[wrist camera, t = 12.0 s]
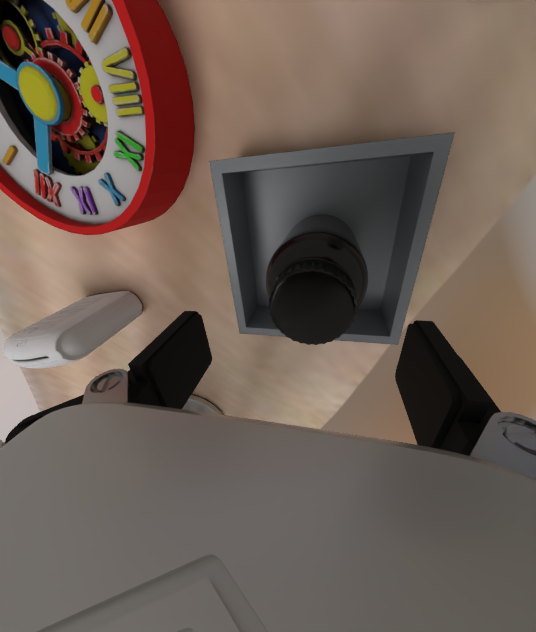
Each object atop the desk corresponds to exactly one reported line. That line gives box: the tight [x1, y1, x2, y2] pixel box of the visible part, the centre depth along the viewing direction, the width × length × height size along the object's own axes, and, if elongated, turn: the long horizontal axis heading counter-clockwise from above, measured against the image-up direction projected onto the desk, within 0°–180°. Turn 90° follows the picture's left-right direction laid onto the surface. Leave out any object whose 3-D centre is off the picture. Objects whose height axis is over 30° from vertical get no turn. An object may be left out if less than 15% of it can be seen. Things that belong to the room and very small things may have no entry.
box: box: [209, 132, 455, 345], centre depth 21 cm, size 15×15×6 cm
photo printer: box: [2, 291, 142, 368], centre depth 29 cm, size 10×4×12 cm, turn 104°
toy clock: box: [0, 0, 195, 235], centre depth 19 cm, size 20×6×20 cm
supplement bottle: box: [266, 214, 368, 345], centre depth 17 cm, size 7×7×12 cm
